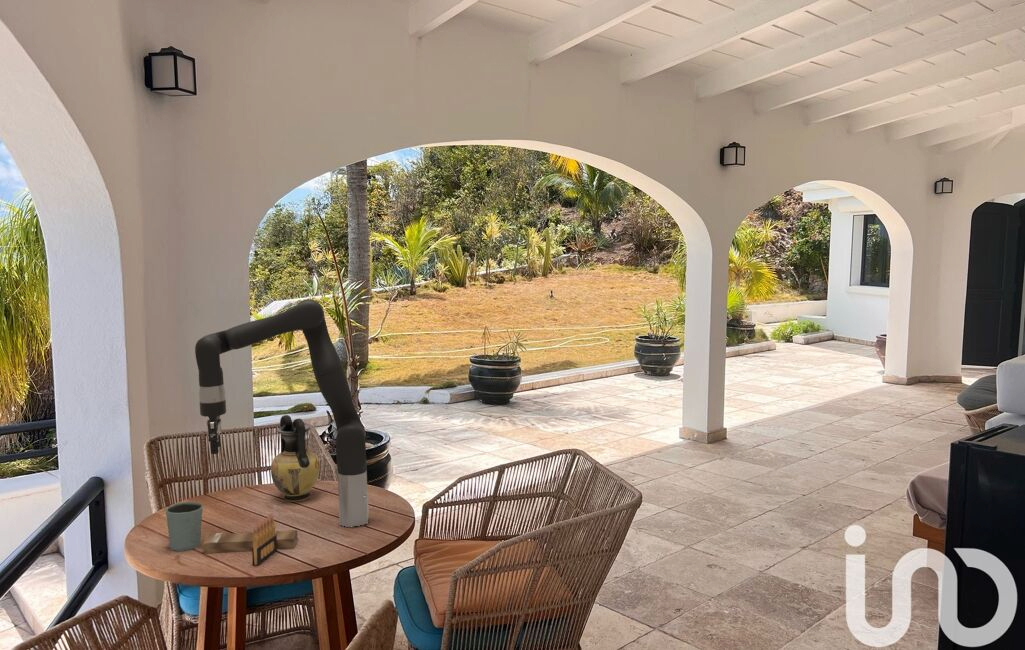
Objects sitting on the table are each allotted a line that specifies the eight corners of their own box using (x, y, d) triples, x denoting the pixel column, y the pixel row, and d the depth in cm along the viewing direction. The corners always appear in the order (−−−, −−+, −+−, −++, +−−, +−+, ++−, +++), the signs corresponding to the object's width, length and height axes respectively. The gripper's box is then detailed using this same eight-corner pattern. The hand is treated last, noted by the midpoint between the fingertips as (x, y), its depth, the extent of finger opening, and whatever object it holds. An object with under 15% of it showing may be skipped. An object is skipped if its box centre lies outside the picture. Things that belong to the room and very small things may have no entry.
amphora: (261, 499, 265) (258, 417, 262) (300, 487, 279) (297, 409, 276) (292, 509, 255) (288, 424, 252) (331, 496, 268) (328, 415, 265)
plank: (297, 539, 228) (297, 529, 228) (293, 548, 221) (293, 537, 221) (210, 544, 225) (209, 533, 225) (203, 553, 218) (202, 542, 218)
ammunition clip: (258, 566, 209) (256, 525, 208) (252, 565, 209) (250, 524, 208) (277, 551, 219) (276, 512, 218) (272, 550, 220) (270, 511, 219)
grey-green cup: (163, 545, 224) (160, 507, 223) (196, 536, 231) (194, 499, 230) (175, 555, 217) (173, 515, 216) (209, 545, 224) (207, 507, 223)
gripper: (223, 402, 223) (227, 455, 225) (226, 394, 237) (230, 443, 238) (197, 404, 221) (200, 457, 222) (201, 396, 234) (205, 446, 236)
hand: (215, 450), depth 230 cm, fingers open, 8 cm apart
